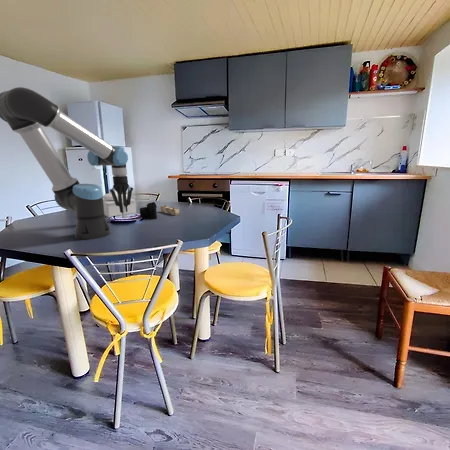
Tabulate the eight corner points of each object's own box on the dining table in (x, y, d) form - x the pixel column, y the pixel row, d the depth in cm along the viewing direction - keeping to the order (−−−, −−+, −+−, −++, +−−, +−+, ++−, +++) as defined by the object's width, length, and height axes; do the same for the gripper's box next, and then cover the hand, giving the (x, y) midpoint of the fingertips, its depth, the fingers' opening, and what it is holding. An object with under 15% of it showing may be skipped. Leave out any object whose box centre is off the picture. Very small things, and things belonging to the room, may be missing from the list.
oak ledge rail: (179, 215, 173) (178, 207, 171) (175, 215, 171) (175, 208, 170) (164, 211, 186) (163, 204, 185) (161, 211, 184) (160, 204, 183)
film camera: (140, 215, 173) (139, 201, 171) (156, 214, 176) (155, 200, 174) (140, 220, 159) (139, 205, 157) (158, 219, 162) (156, 204, 160)
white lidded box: (125, 209, 194) (123, 186, 190) (136, 213, 180) (134, 188, 176) (99, 213, 183) (96, 188, 179) (108, 217, 169) (105, 191, 166)
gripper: (128, 174, 160) (132, 215, 166) (105, 176, 152) (110, 218, 158) (134, 175, 155) (138, 217, 161) (110, 176, 147) (115, 220, 152)
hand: (124, 217), depth 159 cm, fingers closed
